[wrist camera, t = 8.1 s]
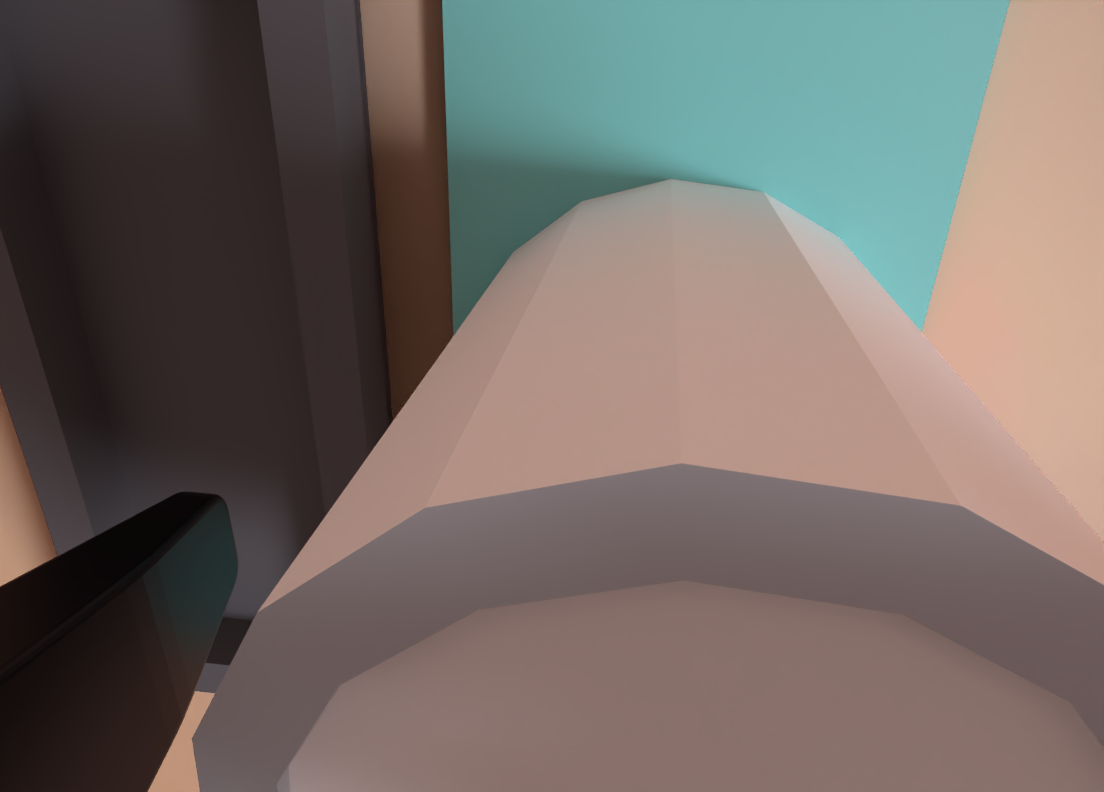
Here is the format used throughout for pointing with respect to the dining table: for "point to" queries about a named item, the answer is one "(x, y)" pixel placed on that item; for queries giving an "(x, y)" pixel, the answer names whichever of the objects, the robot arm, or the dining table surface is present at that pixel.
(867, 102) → the teal pad
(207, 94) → the trap pit
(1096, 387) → the dining table surface
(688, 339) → the white cup
